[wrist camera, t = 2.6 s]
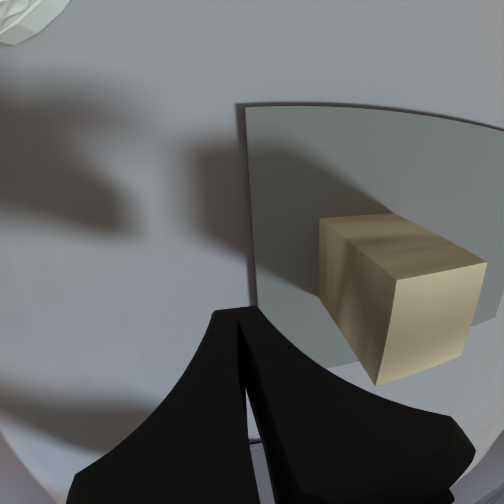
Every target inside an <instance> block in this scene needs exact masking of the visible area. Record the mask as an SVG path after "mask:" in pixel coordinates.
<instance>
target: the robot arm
mask: <svg viewBox="0 0 504 504" xmlns="http://www.w3.org/2000/svg"><path fill="white" fill-rule="evenodd" d="M245 387H246V389H245ZM246 391H247V394H248V398H249V401H250V405H251V408H252V411H253V415H254V418H255V422H256V425H257V428H258V432H259V435H260V438H261V441H262V443H258V444H251V445H249V439H248V426H247V407H246ZM475 452H476V450H475V448H474V446H473V444H472V443H471V442H470V440H469V439H468V437H467V436H466V434H465V433H464V432H463V430H462V429H461V428H460V426H459V425H458V424H457V423H456V422H455V421H454V419H453V418H452V417H451V416H446V415H442V414H437V413H433V412H428V411H424V410H420V409H416V408H412V407H408V406H405V405H402V404H399V403H396V402H393V401H391V400H388V399H385V398H382V397H380V396H377V395H375V394H372V393H370V392H368V391H366V390H364V389H362V388H359V387H357V386H355V385H353V384H351V383H349V382H347V381H345V380H343V379H342V378H340V377H338V376H336V375H335V374H333V373H331V372H330V371H328V370H327V369H325V368H323V367H322V366H321V365H319V364H318V363H316V362H315V361H314V360H312V359H311V358H310V357H308V356H307V355H306V354H305V353H303V352H302V351H301V350H299V349H298V348H297V347H296V346H295V345H294V344H293V343H291V342H290V341H289V340H288V339H287V338H286V337H285V336H284V335H283V334H282V333H281V332H280V331H279V330H278V329H277V328H276V327H275V326H274V325H273V324H272V323H271V322H270V321H269V320H268V319H267V317H266V316H265V315H264V314H263V313H262V311H261V310H260V309H259V308H258V307H257V306H248V307H240V308H232V309H223V310H215V311H214V312H213V313H212V316H211V320H210V323H209V325H208V328H207V330H206V333H205V335H204V337H203V339H202V341H201V343H200V345H199V347H198V349H197V351H196V353H195V355H194V357H193V358H192V360H191V362H190V363H189V365H188V367H187V368H186V370H185V372H184V373H183V375H182V376H181V378H180V379H179V381H178V382H177V383H176V385H175V386H174V388H173V389H172V390H171V391H170V393H169V394H168V395H167V397H166V398H165V399H164V400H163V401H162V403H161V404H160V405H159V406H158V407H157V408H156V409H155V411H154V412H153V413H152V414H151V415H150V416H149V417H148V418H147V419H146V420H145V421H144V422H143V423H142V424H141V425H140V426H139V427H138V428H137V429H136V430H135V431H133V432H132V433H131V434H130V435H129V436H128V437H127V438H126V439H124V440H123V441H122V442H121V443H120V444H119V445H117V446H116V447H115V448H114V449H113V450H111V451H110V452H109V453H107V454H106V455H104V456H103V457H101V458H100V459H98V460H97V461H95V462H94V463H92V464H91V465H89V466H88V467H86V468H85V469H83V470H82V471H80V472H78V473H77V474H75V476H74V479H73V482H72V484H71V487H70V490H69V493H68V497H67V501H66V504H452V503H453V502H454V496H453V494H452V493H451V491H450V489H449V488H450V487H451V486H452V485H453V484H454V483H455V482H456V481H457V480H458V478H459V477H460V476H461V475H462V474H463V473H464V472H465V470H466V469H467V468H468V467H469V465H470V464H471V462H472V461H473V458H474V456H475ZM475 504H504V483H502V484H501V485H500V486H498V487H497V488H496V489H494V490H493V491H492V492H491V493H489V494H488V495H486V496H485V497H483V498H482V499H480V500H479V501H478V502H476V503H475Z"/></svg>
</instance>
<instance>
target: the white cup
mask: <svg viewBox="0 0 504 504" xmlns="http://www.w3.org/2000/svg"><path fill="white" fill-rule="evenodd" d="M69 1H70V0H0V46H15V45H17V44H19V43H21V42H22V41H24V40H26V39H28V38H30V37H32V36H34V35H36V34H38V33H39V32H40V31H42V30H43V29H44V28H45V27H46V26H47V25H48V24H49V23H50V22H51V21H52V20H54V19H55V18H56V17H57V16H58V15H59V14H60V13H62V12H63V10H64V9H65V7H66V6H67V4H68V3H69Z"/></svg>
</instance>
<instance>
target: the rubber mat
mask: <svg viewBox="0 0 504 504" xmlns="http://www.w3.org/2000/svg"><path fill="white" fill-rule="evenodd" d="M244 113H245V127H246V142H247V157H248V172H249V187H250V202H251V217H252V232H253V247H254V262H255V278H256V293H257V307H258V308H259V309H260V310H261V311H262V313H263V314H264V315H265V316H266V317H267V319H268V320H269V321H270V322H271V323H272V324H273V325H274V326H275V327H276V328H277V329H278V330H279V331H280V332H281V333H282V334H283V335H284V336H285V337H286V338H287V339H288V340H289V341H290V342H291V343H293V344H294V345H295V346H296V347H297V348H298V349H299V350H301V351H302V352H303V353H305V354H306V355H307V356H308V357H310V358H311V359H312V360H314V361H315V362H316V363H318V364H319V365H321V366H322V367H323V368H330V367H335V366H339V365H344V364H348V363H352V362H357V361H359V359H358V358H357V356H356V355H355V353H354V352H353V350H352V348H351V347H350V345H349V344H348V342H347V341H346V339H345V338H344V336H343V334H342V333H341V331H340V330H339V328H338V327H337V325H336V324H335V322H334V321H333V319H332V318H331V316H330V315H329V313H328V311H327V310H326V308H325V307H324V305H323V304H322V302H321V301H320V299H319V298H318V283H319V219H320V218H332V217H345V216H358V215H371V214H386V213H395V214H397V215H399V216H401V217H403V218H405V219H407V220H409V221H412V222H414V223H416V224H418V225H420V226H422V227H424V228H426V229H428V230H430V231H432V232H433V233H435V234H437V235H439V236H441V237H443V238H445V239H447V240H449V241H451V242H453V243H454V244H456V245H458V246H460V247H462V248H464V249H465V250H467V251H469V252H471V253H473V254H474V255H476V256H478V257H480V258H481V259H483V260H485V261H487V266H486V270H485V275H484V279H483V283H482V287H481V291H480V295H479V299H478V303H477V306H476V310H475V313H474V317H473V320H472V323H471V326H474V325H476V324H479V323H482V322H484V321H487V320H489V319H491V318H494V317H495V315H496V312H497V309H498V306H499V302H500V299H501V296H502V292H503V288H504V132H503V131H500V130H496V129H492V128H487V127H483V126H479V125H474V124H470V123H465V122H460V121H455V120H449V119H444V118H438V117H432V116H425V115H418V114H411V113H403V112H395V111H385V110H375V109H363V108H347V107H325V106H267V107H245V108H244ZM471 326H470V327H471Z"/></svg>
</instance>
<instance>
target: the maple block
mask: <svg viewBox="0 0 504 504" xmlns="http://www.w3.org/2000/svg"><path fill="white" fill-rule="evenodd" d="M486 266H487V261H485V260H483V259H481V258H480V257H478V256H476V255H474V254H473V253H471V252H469V251H467V250H465V249H464V248H462V247H460V246H458V245H456V244H454V243H453V242H451V241H449V240H447V239H445V238H443V237H441V236H439V235H437V234H435V233H433V232H432V231H430V230H428V229H426V228H424V227H422V226H420V225H418V224H416V223H414V222H412V221H409V220H407V219H405V218H403V217H401V216H399V215H397V214H395V213H386V214H371V215H358V216H345V217H332V218H320V219H319V283H318V298H319V299H320V301H321V302H322V304H323V305H324V307H325V308H326V310H327V311H328V313H329V315H330V316H331V318H332V319H333V321H334V322H335V324H336V325H337V327H338V328H339V330H340V331H341V333H342V334H343V336H344V338H345V339H346V341H347V342H348V344H349V345H350V347H351V348H352V350H353V352H354V353H355V355H356V356H357V358H358V359H359V361H360V362H361V364H362V366H363V367H364V369H365V370H366V372H367V374H368V375H369V377H370V378H371V380H372V381H373V383H374V385H375V386H378V385H381V384H384V383H388V382H391V381H394V380H397V379H400V378H403V377H406V376H409V375H412V374H415V373H418V372H421V371H424V370H427V369H429V368H432V367H435V366H437V365H440V364H442V363H445V362H448V361H450V360H453V359H455V358H457V357H460V355H461V352H462V350H463V347H464V344H465V341H466V338H467V335H468V332H469V329H470V326H471V323H472V320H473V317H474V313H475V310H476V306H477V303H478V299H479V295H480V291H481V287H482V283H483V279H484V275H485V270H486Z"/></svg>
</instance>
